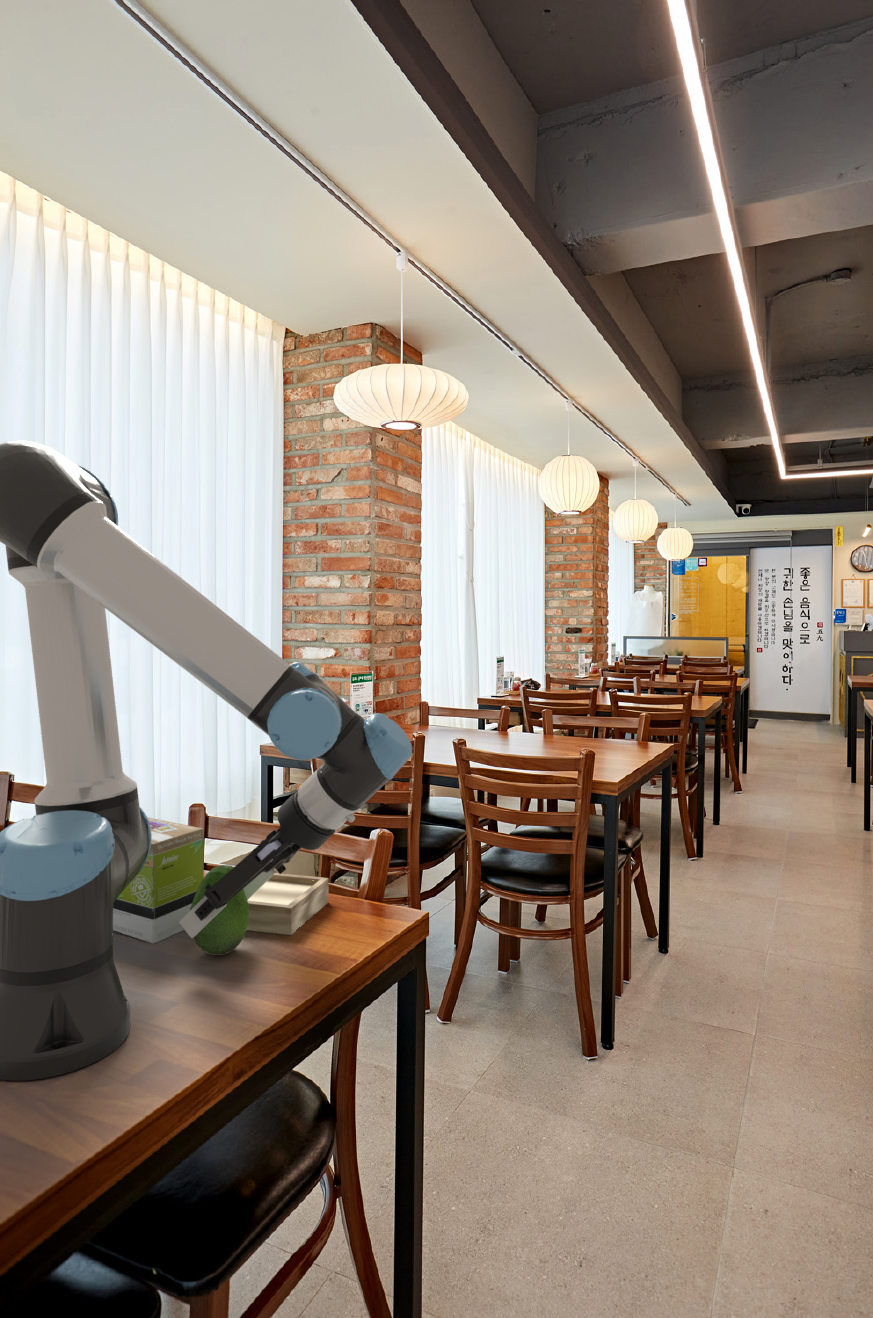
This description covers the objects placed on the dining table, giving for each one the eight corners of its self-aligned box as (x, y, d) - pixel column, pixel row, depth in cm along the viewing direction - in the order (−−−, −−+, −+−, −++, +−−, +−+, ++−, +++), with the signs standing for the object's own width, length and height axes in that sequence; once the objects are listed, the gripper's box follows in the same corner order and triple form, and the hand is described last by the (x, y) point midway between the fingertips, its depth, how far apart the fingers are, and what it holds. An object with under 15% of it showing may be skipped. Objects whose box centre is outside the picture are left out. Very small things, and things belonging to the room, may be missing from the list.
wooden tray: (291, 935, 110) (291, 907, 110) (205, 924, 114) (205, 898, 114) (328, 902, 124) (328, 878, 124) (250, 893, 127) (250, 870, 127)
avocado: (257, 942, 108) (258, 858, 107) (234, 966, 100) (235, 876, 99) (204, 938, 109) (204, 855, 108) (177, 961, 101) (177, 872, 101)
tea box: (81, 925, 113) (81, 826, 113) (136, 904, 122) (136, 812, 122) (153, 945, 106) (153, 841, 106) (206, 922, 115) (206, 825, 115)
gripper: (294, 858, 88) (179, 970, 92) (368, 810, 112) (274, 900, 116) (252, 809, 89) (141, 922, 93) (334, 772, 113) (242, 863, 117)
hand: (214, 910), depth 105 cm, fingers open, 13 cm apart
